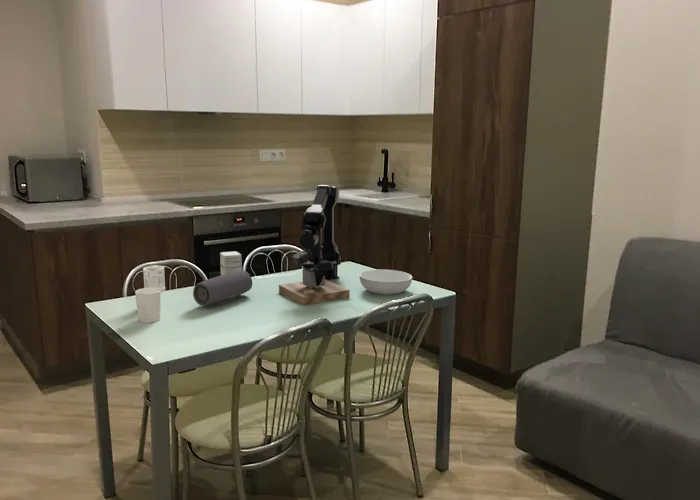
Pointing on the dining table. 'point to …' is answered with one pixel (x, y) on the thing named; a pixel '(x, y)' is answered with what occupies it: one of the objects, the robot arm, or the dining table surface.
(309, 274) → the grey rectangular block
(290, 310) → the dining table surface
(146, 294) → the white cup
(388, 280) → the serving bowl
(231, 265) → the supplement box
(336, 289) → the brown wooden flat slab
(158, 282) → the white tall cylindrical part
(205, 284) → the bluetooth speaker
